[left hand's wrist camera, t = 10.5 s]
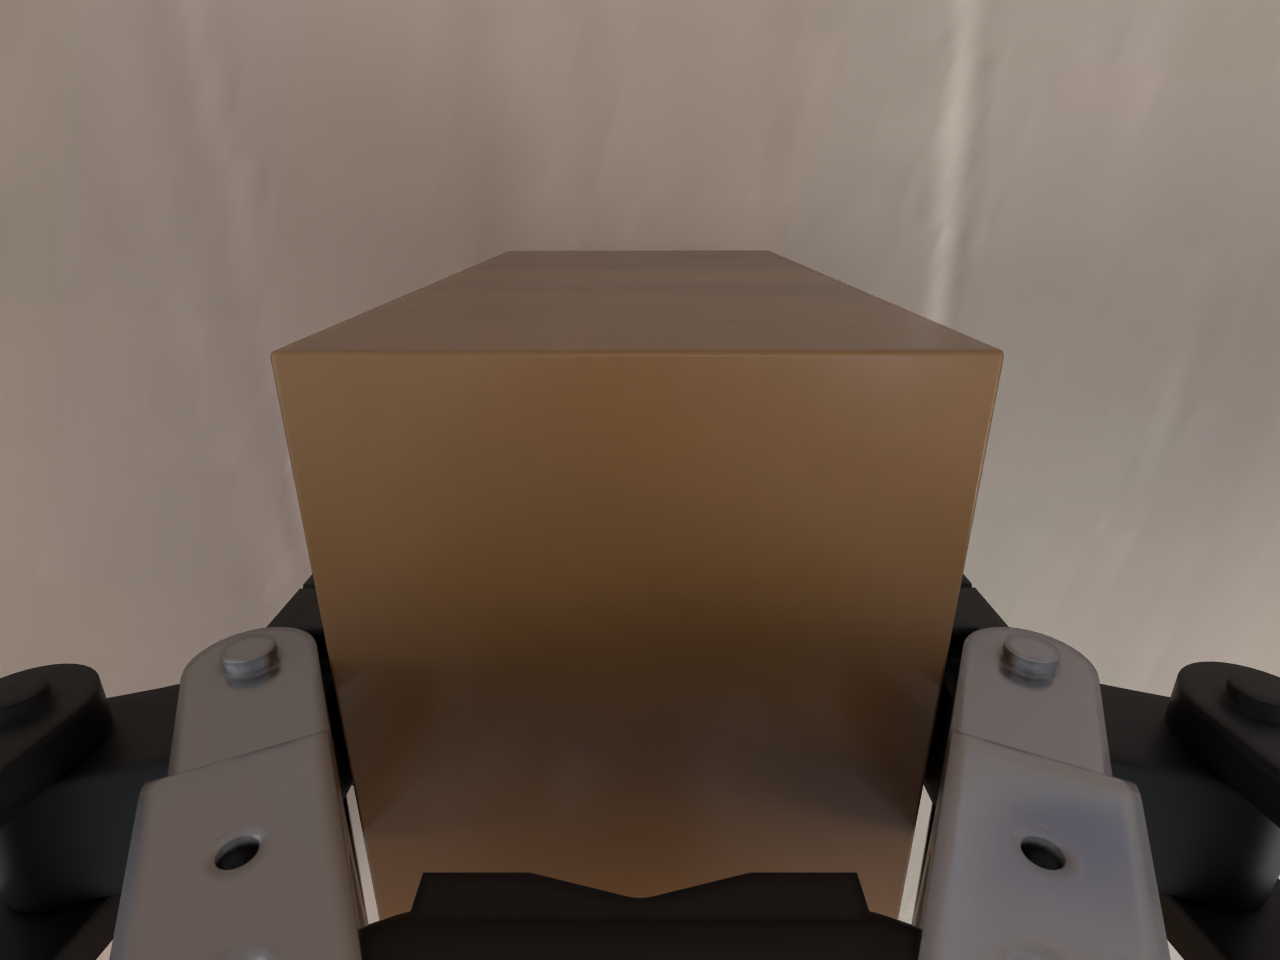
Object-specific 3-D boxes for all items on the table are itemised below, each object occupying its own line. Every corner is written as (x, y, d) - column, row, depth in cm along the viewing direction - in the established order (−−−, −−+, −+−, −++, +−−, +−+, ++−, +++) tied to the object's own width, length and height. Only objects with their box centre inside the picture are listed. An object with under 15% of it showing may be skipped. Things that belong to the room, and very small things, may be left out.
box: (507, 251, 17) (266, 352, 6) (769, 250, 17) (1008, 350, 6) (557, 1003, 27) (501, 1555, 16) (722, 1002, 27) (779, 1554, 16)
